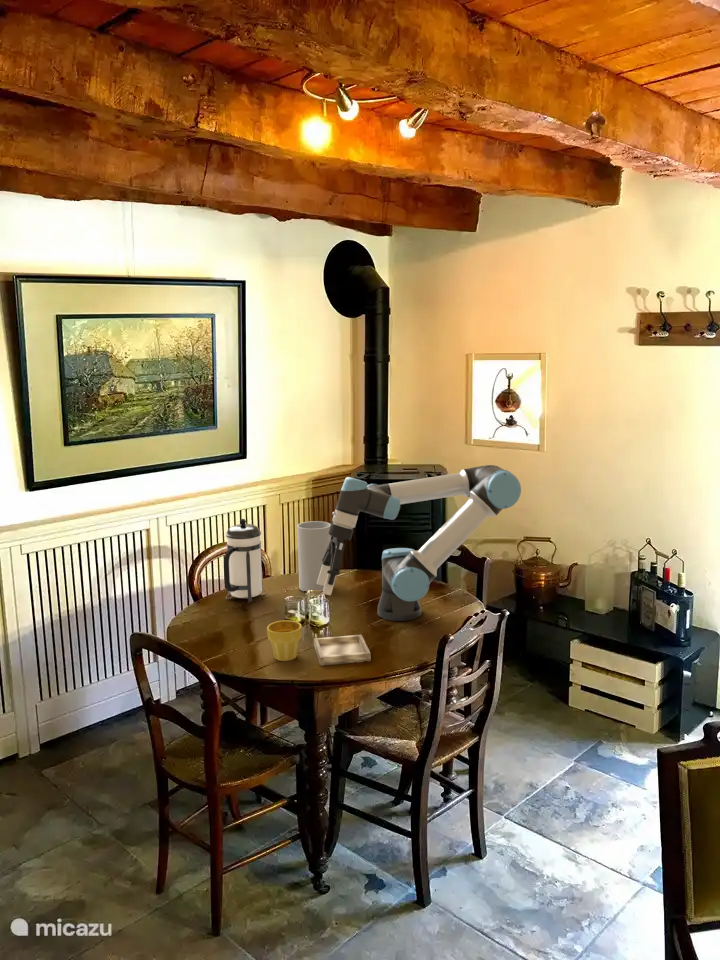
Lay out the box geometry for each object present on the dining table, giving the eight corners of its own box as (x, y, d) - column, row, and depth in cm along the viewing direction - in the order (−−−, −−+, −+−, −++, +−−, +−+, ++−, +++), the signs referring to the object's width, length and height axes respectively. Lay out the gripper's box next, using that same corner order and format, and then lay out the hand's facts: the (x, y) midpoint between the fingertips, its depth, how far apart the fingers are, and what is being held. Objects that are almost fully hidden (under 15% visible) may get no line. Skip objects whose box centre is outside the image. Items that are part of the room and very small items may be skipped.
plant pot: (271, 665, 227) (269, 634, 225) (265, 652, 237) (264, 622, 235) (305, 661, 230) (304, 630, 228) (299, 648, 240) (298, 618, 238)
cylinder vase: (331, 582, 304) (330, 520, 299) (332, 593, 291) (330, 528, 287) (299, 583, 303) (297, 521, 299) (299, 594, 291) (297, 529, 286)
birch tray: (361, 642, 244) (361, 634, 243) (370, 661, 229) (370, 653, 229) (314, 646, 241) (313, 638, 241) (320, 665, 227) (320, 657, 226)
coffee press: (220, 593, 293) (217, 516, 287) (262, 589, 297) (260, 513, 292) (226, 608, 276) (222, 526, 271) (270, 603, 281) (267, 523, 275)
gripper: (326, 517, 257) (307, 578, 257) (337, 527, 232) (317, 595, 233) (347, 523, 258) (329, 584, 259) (361, 534, 234) (340, 601, 234)
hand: (323, 589), depth 246 cm, fingers open, 13 cm apart
